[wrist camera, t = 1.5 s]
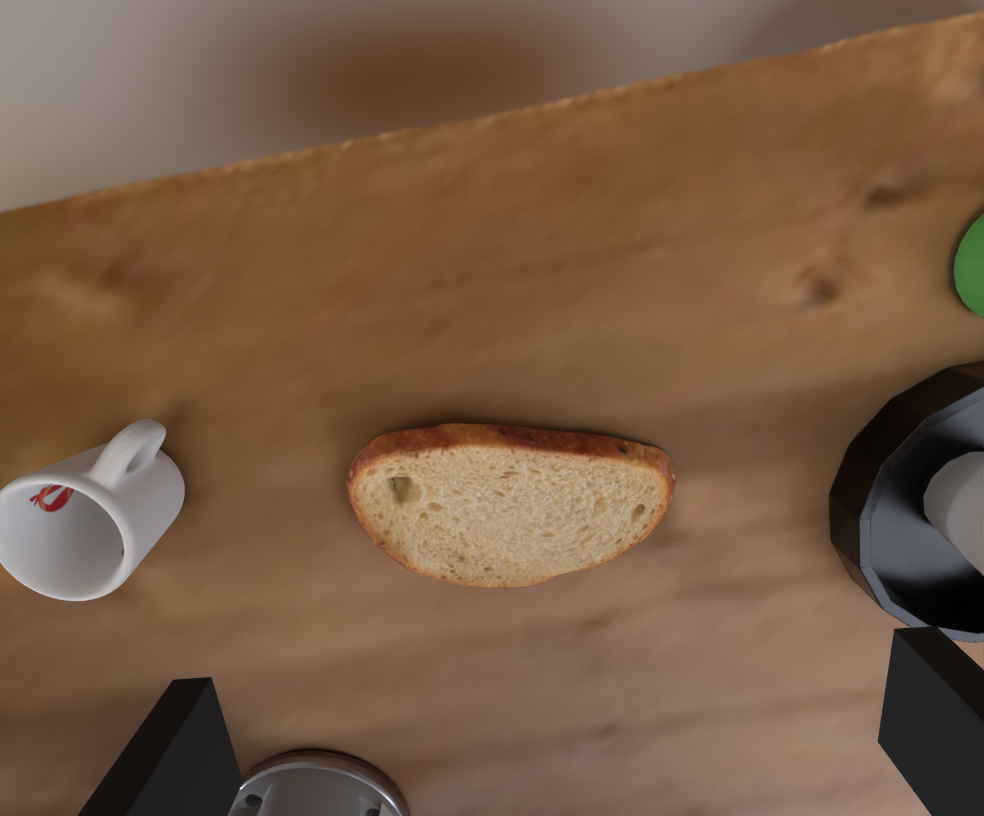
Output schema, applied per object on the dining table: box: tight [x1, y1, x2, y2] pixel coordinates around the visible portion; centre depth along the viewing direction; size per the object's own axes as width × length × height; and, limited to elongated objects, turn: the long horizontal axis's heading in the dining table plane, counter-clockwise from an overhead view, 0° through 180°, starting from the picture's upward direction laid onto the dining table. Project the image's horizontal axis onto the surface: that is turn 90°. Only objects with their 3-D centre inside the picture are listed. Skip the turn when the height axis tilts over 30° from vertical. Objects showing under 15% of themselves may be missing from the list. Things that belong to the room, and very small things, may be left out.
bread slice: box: [346, 423, 676, 588], centre depth 37 cm, size 18×18×4 cm
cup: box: [0, 419, 185, 601], centre depth 35 cm, size 11×8×8 cm
